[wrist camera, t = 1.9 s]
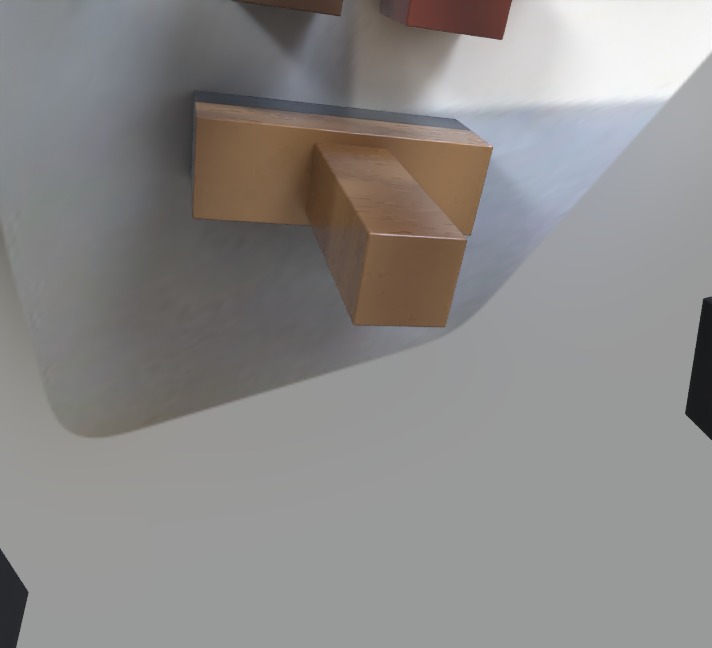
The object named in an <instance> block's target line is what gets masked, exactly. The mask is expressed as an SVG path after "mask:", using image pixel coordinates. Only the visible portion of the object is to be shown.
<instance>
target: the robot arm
mask: <svg viewBox="0 0 712 648" xmlns="http://www.w3.org/2000/svg"><path fill="white" fill-rule="evenodd" d="M685 414H686V415H687V416H688V417H689V418H690V419H691V420H692V421H693V422H694V423H695V424H696V425H697V426H698V427H699V428H700V429H701V430H702V431H703V432H704V433H705V434H706V435H707V436H708V437H709V438H710V439H711V440H712V297H708V298H704V299H703V304H702V310H701V316H700V323H699V329H698V335H697V342H696V348H695V354H694V361H693V367H692V373H691V380H690V386H689V392H688V399H687V405H686V412H685ZM27 597H28V591H27V589H26V588H25V586H24V585H23V583H22V582H21V580H20V578H19V577H18V575H17V574H16V572H15V571H14V569H13V568H12V566H11V564H10V563H9V561H8V560H7V558H6V557H5V555H4V554H3V552H2V551H1V549H0V648H16V645H17V641H18V636H19V632H20V627H21V623H22V619H23V614H24V610H25V606H26V601H27Z"/></svg>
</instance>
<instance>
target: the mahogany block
mask: <svg viewBox="0 0 712 648" xmlns="http://www.w3.org/2000/svg"><path fill="white" fill-rule="evenodd" d="M511 2H512V0H382V2H381V9H380V13H382V14H384V15H386V16H388V17H390V18H392V19H394V20H396V21H398V22H400V23H402V24H404V25H406V26H410V27H417V28H424V29H430V30H437V31H444V32H451V33H458V34H464V35H471V36H478V37H485V38H492V39H498V40H502V39H503V35H504V31H505V27H506V23H507V19H508V14H509V10H510V6H511Z"/></svg>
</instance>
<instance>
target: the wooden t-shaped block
mask: <svg viewBox="0 0 712 648" xmlns="http://www.w3.org/2000/svg"><path fill="white" fill-rule="evenodd" d="M492 150H493V146H491V145H490V144H489V143H487V142H486V141H485V140H483V139H482V138H481V137H479V136H478V135H476V134H475V133H474V132H472V131H471V130H470V129H468V128H467V127H466V126H464V125H463V124H462V123H460V122H459V121H457V120H456V119H448V118H439V117H430V116H421V115H412V114H403V113H394V112H385V111H376V110H367V109H358V108H349V107H339V106H330V105H321V104H312V103H303V102H294V101H285V100H276V99H267V98H258V97H249V96H240V95H231V94H222V93H213V92H204V91H194V102H193V130H192V158H191V199H192V218H194V219H210V220H226V221H242V222H258V223H275V224H291V225H307V226H312V229H313V231H314V233H315V236H316V238H317V240H318V243H319V245H320V247H321V250H322V252H323V255H324V257H325V259H326V262H327V264H328V266H329V269H330V271H331V273H332V276H333V278H334V281H335V283H336V285H337V288H338V290H339V292H340V295H341V297H342V299H343V302H344V304H345V306H346V309H347V311H348V314H349V316H350V318H351V321H352V323H353V325H365V326H410V327H445V326H446V323H447V319H448V315H449V311H450V307H451V303H452V299H453V295H454V291H455V287H456V283H457V279H458V275H459V271H460V267H461V263H462V259H463V255H464V251H465V247H466V243H467V238H466V237H465V236H464V235H471V233H472V229H473V225H474V221H475V217H476V213H477V209H478V205H479V201H480V197H481V193H482V189H483V185H484V181H485V177H486V173H487V169H488V165H489V161H490V157H491V154H492Z"/></svg>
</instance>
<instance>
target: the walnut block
mask: <svg viewBox="0 0 712 648" xmlns="http://www.w3.org/2000/svg"><path fill="white" fill-rule="evenodd" d="M233 1H240V2H246V3H253V4H260V5H267V6H274V7H280V8H287V9H294V10H301V11H308V12H314V13H321V14H328V15H335V16H341V11H342V3H343V0H233Z"/></svg>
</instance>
